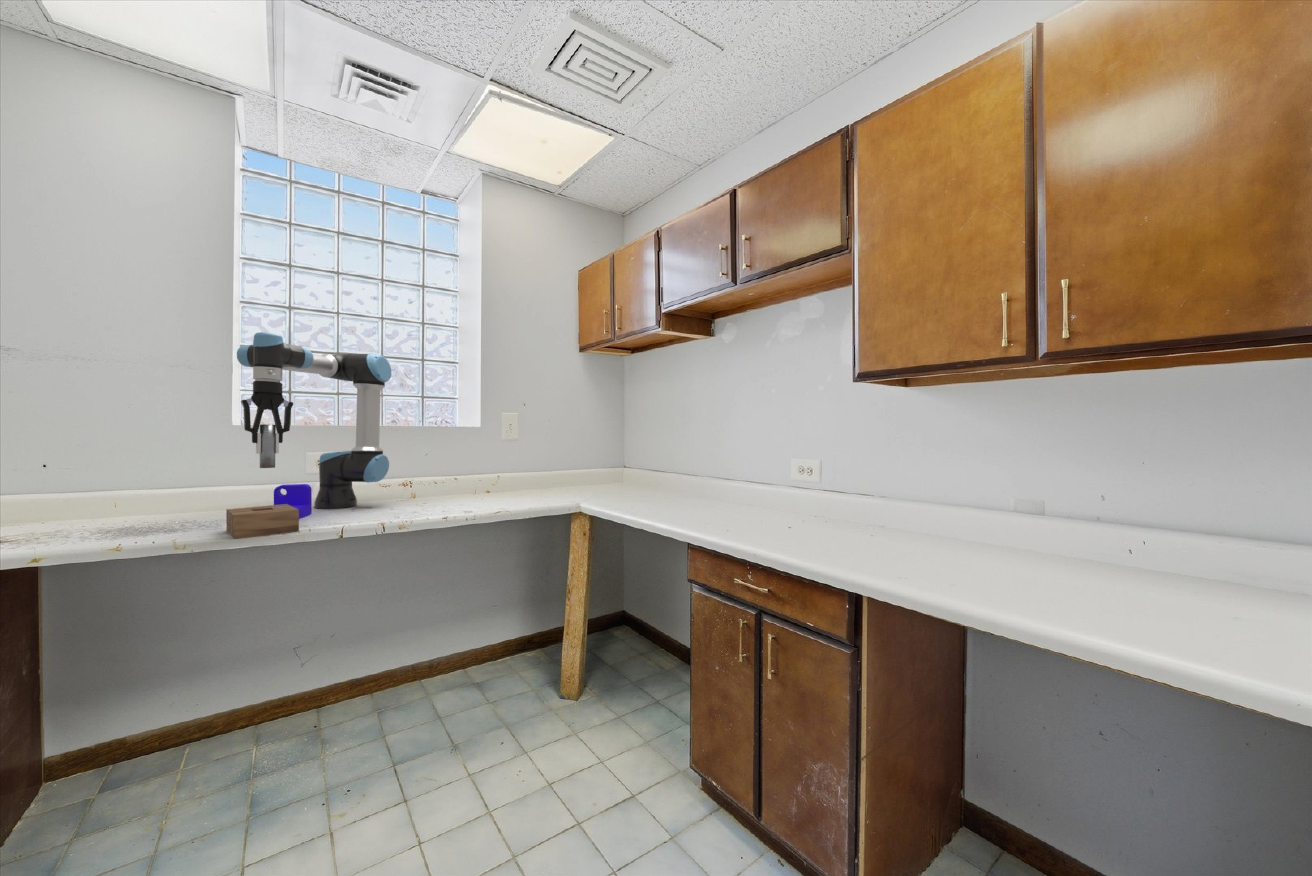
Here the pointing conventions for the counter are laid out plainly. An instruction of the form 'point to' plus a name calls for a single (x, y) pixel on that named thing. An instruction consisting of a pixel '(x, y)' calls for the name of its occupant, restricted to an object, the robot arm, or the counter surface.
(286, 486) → the bracket
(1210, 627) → the counter surface
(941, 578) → the counter surface
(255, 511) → the bore block
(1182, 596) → the counter surface
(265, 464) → the pin
